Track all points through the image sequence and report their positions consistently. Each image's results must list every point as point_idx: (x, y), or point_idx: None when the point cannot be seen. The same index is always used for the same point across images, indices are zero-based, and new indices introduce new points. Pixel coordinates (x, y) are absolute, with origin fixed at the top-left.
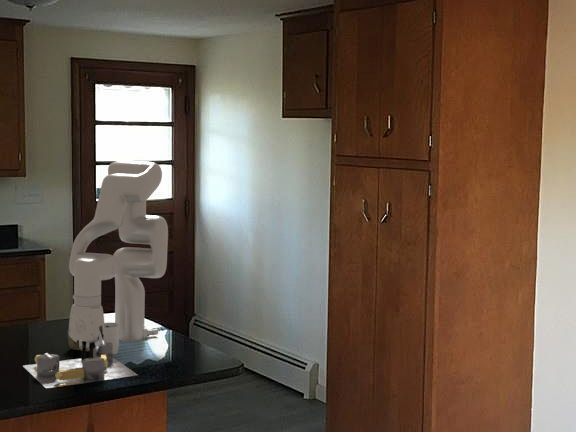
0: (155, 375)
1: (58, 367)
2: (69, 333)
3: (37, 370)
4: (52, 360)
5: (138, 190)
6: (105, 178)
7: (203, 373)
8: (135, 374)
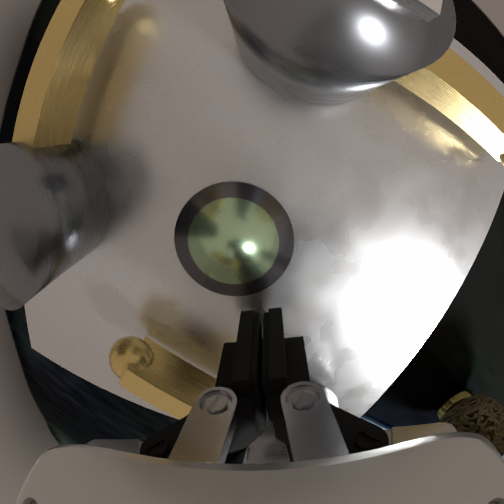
0: (68, 392)
1: (241, 44)
2: (491, 466)
3: None
4: None
5: None
6: None
7: (52, 430)
8: (38, 348)
